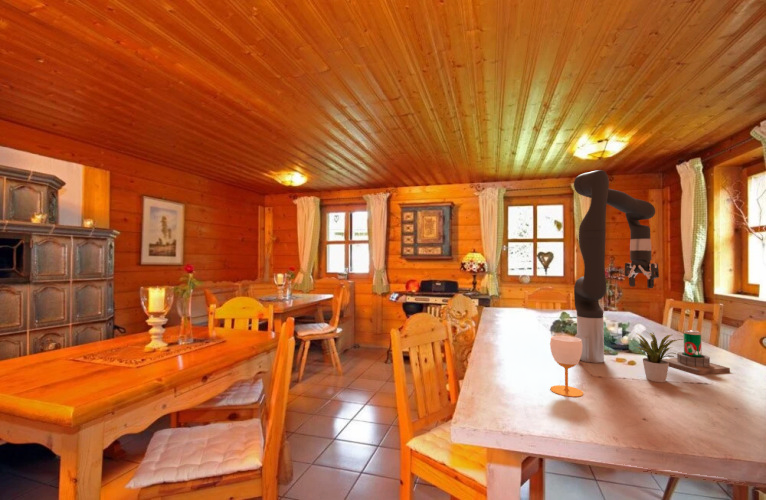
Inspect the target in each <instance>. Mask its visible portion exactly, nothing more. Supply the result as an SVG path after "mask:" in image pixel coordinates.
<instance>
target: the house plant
mask: <svg viewBox="0 0 766 500" xmlns="http://www.w3.org/2000/svg"><path fill="white" fill-rule="evenodd" d="M645 331H646V330H645ZM646 332H647V333H648V331H646ZM635 333H636V332H635ZM636 335H638V336H639V337H640V338H639V337H637V336H633V337H635V338H637V339H638V340H639V344H640V346H635V348H636V349H639V350H641V351H643V352H645V353H646V354H645V353H643V352H641V351H637V353H638V354H639V353H640V354H642V355H644V356H646V357H644V358H642V363H643V367H644V373H645V378H646V379H647V380H648V381H652V382H655V383H657V382H658V383H666V381H667V376H668V370H669V367H670V366H669V362H667V361H665V360H662V359H665V357H669V358H670V357H671V358H675V356H674V355H677V352H668V351H669V350H670V349H672V348H673V347H669V346H670V345H671V344H672V343H674V342H677V341H684V340H685V339H684V338H682V339H681V338H678V339H669V338H670V337H671V336H672V334H669V335H668V334H667V335H665V336H664V337H663V338H662V340H661V341H660V343H659V346H658V339H657V338H656V335H655V333H654V332H652V333H651V332H649V336H650V337H651V339H652V340H651V341H650V344H649V342H648V340H647V339H645V338H644V337H643V336H642V335H641V334H639V333H636ZM667 352H668V353H667ZM670 354H674V355H670Z"/></svg>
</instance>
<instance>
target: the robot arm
mask: <svg viewBox="0 0 766 500" xmlns="http://www.w3.org/2000/svg"><path fill="white" fill-rule="evenodd" d="M609 186H610V179H609V176H608V173H607V172H606V171H605V170H602V169H598V170H593V171H589V172H584V173H581V174H579V175H578V176H576V177H575V178H574V182H573V187H574V190H575V192H576V193H577V194H578V195H580V196H581V197H585V198H589V199H590V205H589V207H588V211H587V212H586V214H585V215H584V217H583V218H582V220H581V222H580V224H579V227H578V245H579V249H580V250H579V251H580V253H581V257H582V260H583V266H584V270H583V276H580V277H579V278H577V280H575V283H574V287H573V294H574V295H573V296H574V297H573V298H574V308H575V310H576V334H575V335H574V337H576V338H579V339H581V340H582V355H581V358H580V360H579V361H582V362H584V363H595V364H597V363H598V364H599V363H604V362H605V346H604V345H605V340H604V336H605V334H604V333H605V332H604V330H605V327H604V310H603V309H602V308H601V305H600V303H599V302H600V300H602V299H603V298H605V295H606V293H607V278H606V267H605V264H606V263H605V260H606V259H605V258H606V235H607V234H606V220H607V215H606V214H607V205H609V206H610V207H612V208H614V209H616V210H618V211H619V212H622V213H623V214H625V219H626V221H627V223H628V227H629V230H630V241H629V242H630V243H629V260H630V262H625V263H624V277H628V285H629V286H630V287H636V276H637V275H638V274H643V275H644V276H646V278H647V279H646V281H647V282H646V283H647V284H646V285H647V286H646V287H647V288H648V289H653V288H654V286H655V279H659V278H660V273H659V264H658V263H656V262H655V263H651V261H652V241H651V227H650V226H648V225H644V224H641V223H640V221H643V220H651V219H652V218H653V217H654V216H655V214H656V207H655V206H654V205H653V203H650V202H649V201H646V200H643V199H639V198H634V197H633V196H631V195H629V194H627V193H626V192H623V191H621V190H616V189H612V188H610V187H609Z"/></svg>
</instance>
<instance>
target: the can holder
mask: <svg viewBox="0 0 766 500" xmlns="http://www.w3.org/2000/svg"><path fill="white" fill-rule="evenodd" d="M662 360H665V361H667V362H669V366H668V367H671V368H676V369H677V370H682V371H685V372H688V373H692V374H694V375H699V376H700V375H713V374H725V373H730V372H731V368H730V367H727V366H724V365H720V364H716V363H712V362H711V358H710V356H708V355H705V354H702V358H696V357H689V356H685V355H684V351H683V352H682V351H679V352H676V357H671V358H662Z"/></svg>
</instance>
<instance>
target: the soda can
mask: <svg viewBox="0 0 766 500" xmlns="http://www.w3.org/2000/svg"><path fill="white" fill-rule="evenodd" d="M682 334H683V338H682V339H685V340H683V352H684V355H685V356H689V357H696V358H702V355H703V354H702V353H703V352H702V351H703V350H702V349H703V347H702V345H703V344H702V333H701V332H700V331H699V330H696V329H684V332H682Z"/></svg>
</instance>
